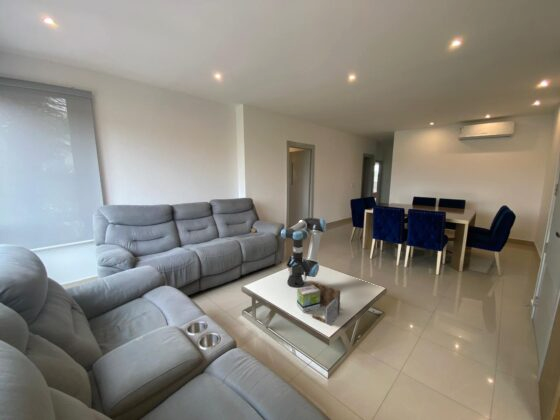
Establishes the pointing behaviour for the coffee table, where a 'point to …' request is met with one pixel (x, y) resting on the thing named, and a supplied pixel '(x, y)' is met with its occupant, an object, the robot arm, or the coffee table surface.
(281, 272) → the coffee table surface
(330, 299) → the shelf wall
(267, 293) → the coffee table surface
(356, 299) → the coffee table surface
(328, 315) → the bookend
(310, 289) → the tea box
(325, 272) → the coffee table surface
